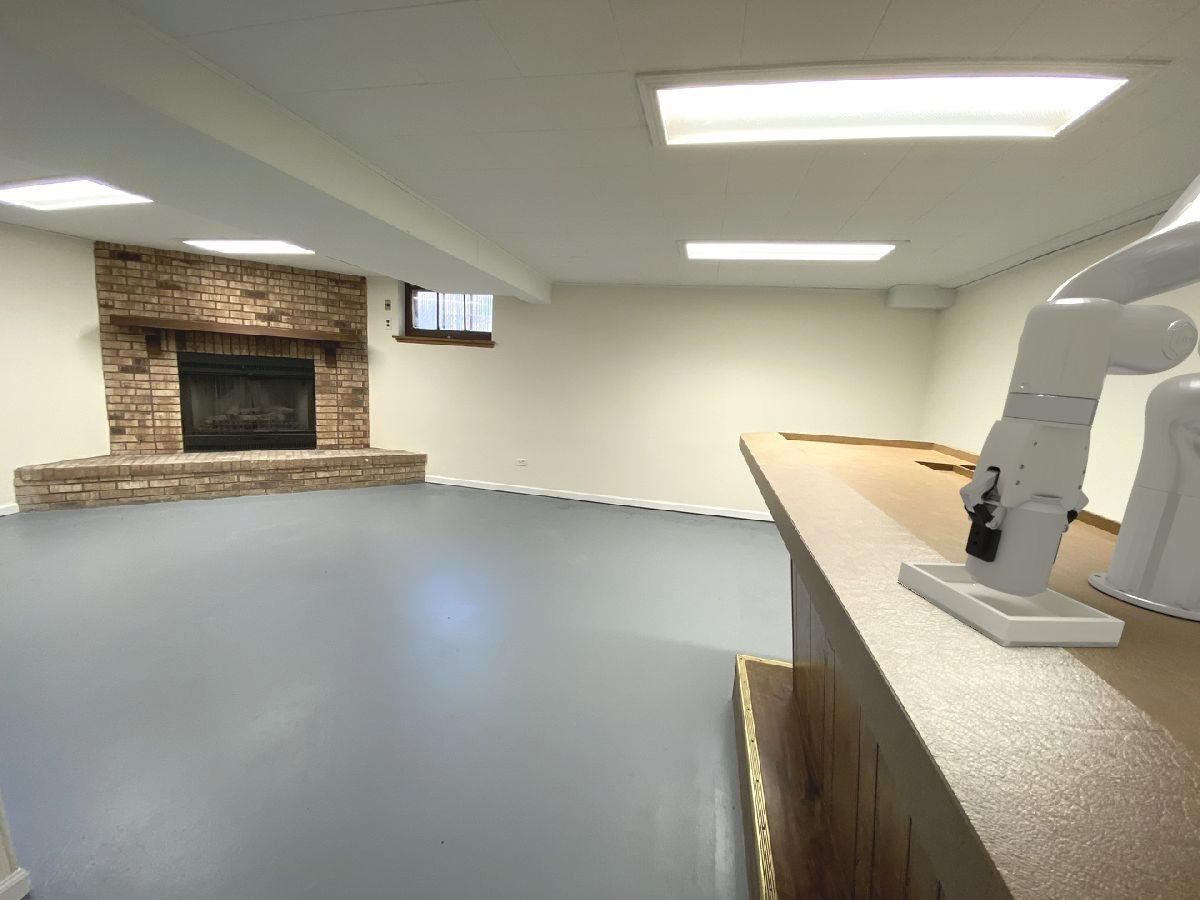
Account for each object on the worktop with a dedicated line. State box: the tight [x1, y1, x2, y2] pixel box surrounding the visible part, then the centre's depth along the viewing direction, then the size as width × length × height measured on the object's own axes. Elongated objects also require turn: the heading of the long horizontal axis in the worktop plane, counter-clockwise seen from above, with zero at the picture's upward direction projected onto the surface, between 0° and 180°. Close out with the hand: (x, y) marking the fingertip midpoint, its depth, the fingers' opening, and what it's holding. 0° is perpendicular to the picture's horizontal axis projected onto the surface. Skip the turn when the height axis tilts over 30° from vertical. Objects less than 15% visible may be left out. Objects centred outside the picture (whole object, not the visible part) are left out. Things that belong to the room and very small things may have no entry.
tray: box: [897, 561, 1126, 648], centre depth 56 cm, size 15×15×3 cm
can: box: [965, 495, 1068, 597], centre depth 55 cm, size 8×8×12 cm
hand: (1008, 558), depth 55 cm, fingers closed on can, 7 cm apart
